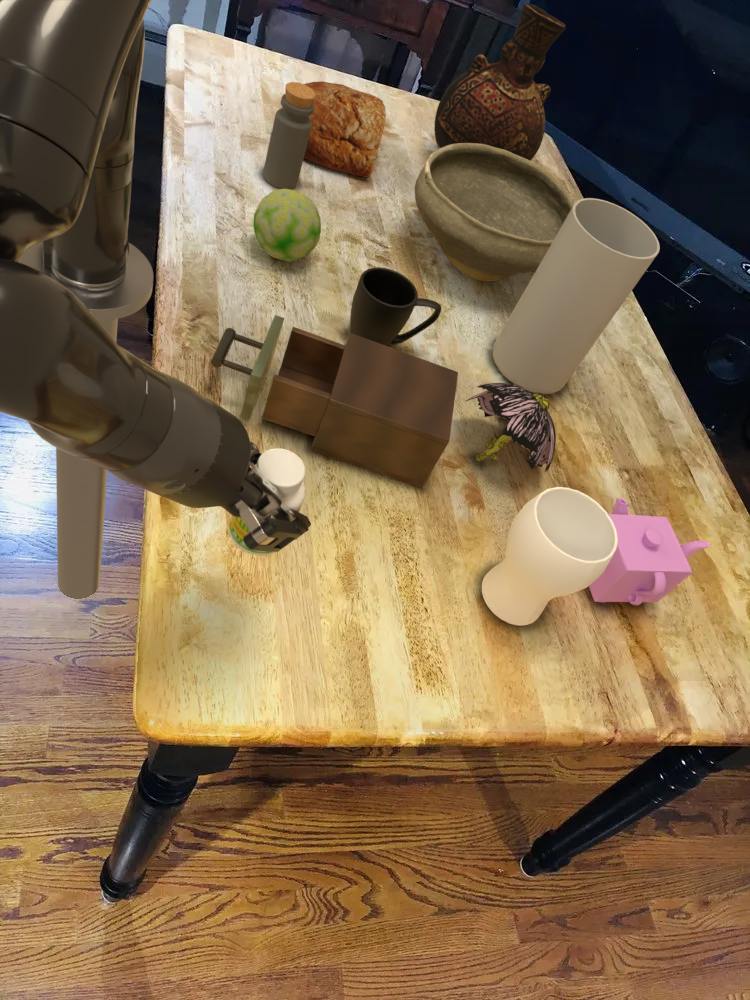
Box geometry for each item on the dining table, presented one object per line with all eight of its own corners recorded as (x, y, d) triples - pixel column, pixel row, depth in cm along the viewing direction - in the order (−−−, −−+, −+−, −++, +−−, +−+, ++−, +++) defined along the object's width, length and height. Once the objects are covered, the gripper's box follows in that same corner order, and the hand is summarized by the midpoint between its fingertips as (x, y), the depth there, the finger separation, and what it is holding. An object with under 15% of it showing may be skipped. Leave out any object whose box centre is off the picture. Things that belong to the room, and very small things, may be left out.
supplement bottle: (217, 540, 67) (237, 474, 60) (243, 498, 70) (264, 431, 63) (273, 567, 67) (299, 504, 60) (295, 524, 71) (323, 459, 63)
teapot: (647, 533, 102) (691, 490, 95) (685, 620, 95) (737, 581, 88) (531, 528, 96) (570, 481, 89) (563, 621, 89) (608, 578, 81)
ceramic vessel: (421, 181, 141) (489, 9, 119) (416, 135, 152) (477, -32, 129) (523, 212, 147) (606, 52, 124) (511, 164, 157) (585, 9, 135)
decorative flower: (606, 439, 96) (523, 405, 88) (552, 508, 101) (468, 482, 93) (550, 381, 106) (471, 346, 98) (503, 447, 111) (424, 418, 103)
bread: (369, 185, 134) (387, 131, 127) (268, 152, 130) (280, 94, 123) (373, 131, 147) (390, 79, 140) (281, 99, 143) (293, 44, 136)
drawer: (198, 403, 90) (207, 358, 85) (225, 344, 98) (234, 299, 92) (346, 453, 93) (363, 413, 87) (361, 392, 100) (378, 352, 95)
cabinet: (310, 450, 92) (329, 399, 86) (330, 383, 101) (349, 332, 94) (421, 488, 94) (449, 441, 88) (432, 419, 103) (458, 371, 96)
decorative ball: (261, 276, 110) (275, 216, 102) (238, 233, 114) (250, 172, 107) (322, 275, 114) (340, 217, 107) (298, 233, 119) (314, 175, 111)
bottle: (260, 182, 124) (279, 92, 113) (264, 164, 128) (284, 75, 117) (295, 193, 125) (317, 105, 114) (298, 175, 129) (321, 88, 118)
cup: (544, 563, 93) (609, 490, 82) (560, 642, 87) (634, 574, 76) (464, 552, 90) (521, 474, 79) (475, 632, 84) (538, 560, 73)
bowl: (513, 221, 143) (549, 151, 132) (569, 321, 128) (615, 252, 118) (377, 201, 132) (404, 124, 121) (421, 308, 117) (456, 230, 107)
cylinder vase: (478, 337, 117) (557, 193, 99) (544, 339, 122) (631, 203, 104) (509, 396, 111) (600, 254, 92) (577, 396, 116) (676, 262, 97)
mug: (419, 373, 108) (444, 322, 100) (338, 350, 105) (358, 296, 98) (420, 337, 113) (444, 285, 106) (343, 313, 110) (362, 259, 103)
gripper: (257, 490, 48) (358, 542, 63) (172, 333, 54) (284, 415, 69) (168, 557, 49) (288, 592, 64) (94, 396, 55) (220, 463, 70)
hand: (285, 500), depth 67 cm, fingers closed on supplement bottle, 5 cm apart
